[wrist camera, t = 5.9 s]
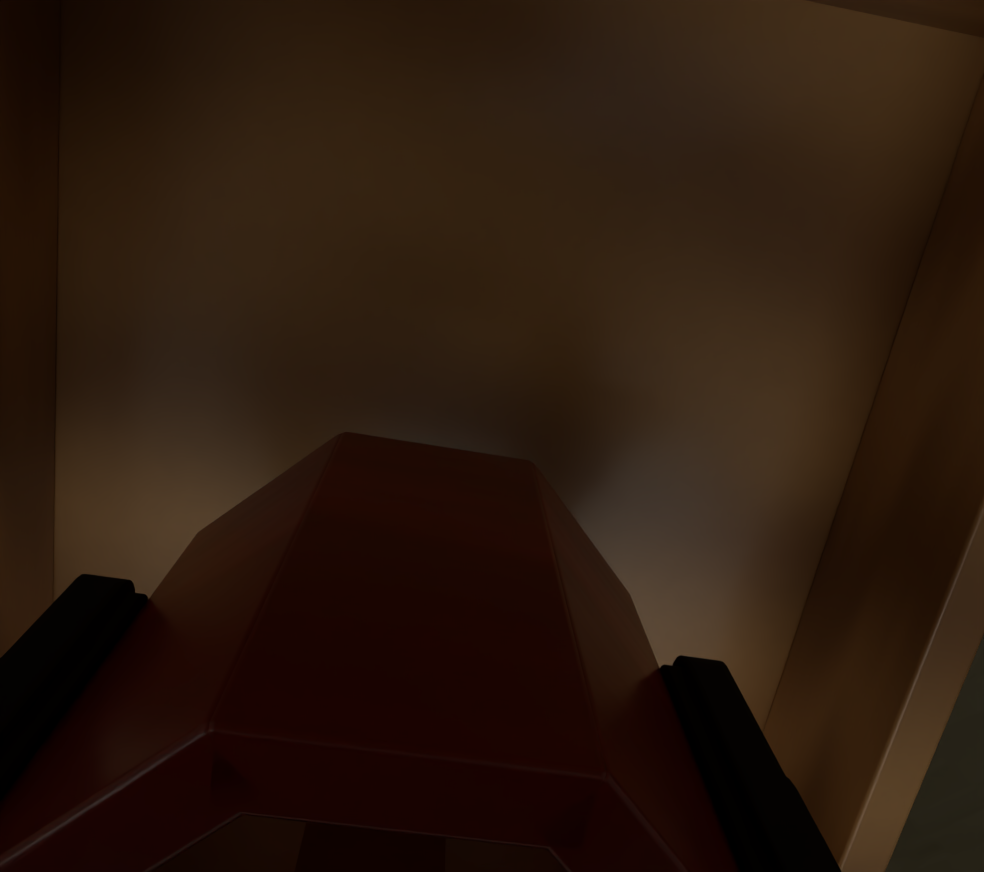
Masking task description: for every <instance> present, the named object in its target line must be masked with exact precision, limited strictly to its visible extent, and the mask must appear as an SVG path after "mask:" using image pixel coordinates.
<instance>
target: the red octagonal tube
mask: <svg viewBox="0 0 984 872" xmlns="http://www.w3.org/2000/svg"><path fill="white" fill-rule="evenodd" d="M0 872H741V871H740V869H739V866H738V864H737V861H736V859H735V856H734V854H733V851H732V849H731V846H730V844H729V841H728V839H727V836H726V834H725V831H724V829H723V826H722V824H721V821H720V819H719V816H718V814H717V811H716V808H715V806H714V803H713V801H712V798H711V796H710V793H709V791H708V788H707V786H706V783H705V781H704V778H703V776H702V773H701V771H700V768H699V766H698V763H697V761H696V758H695V756H694V753H693V751H692V748H691V746H690V743H689V741H688V738H687V736H686V733H685V731H684V728H683V726H682V723H681V721H680V718H679V716H678V713H677V711H676V708H675V706H674V703H673V701H672V698H671V696H670V693H669V691H668V688H667V686H666V683H665V681H664V678H663V676H662V673H661V671H660V668H659V665H658V663H657V660H656V658H655V655H654V653H653V650H652V648H651V645H650V643H649V640H648V638H647V635H646V633H645V630H644V628H643V625H642V623H641V620H640V618H639V615H638V613H637V610H636V608H635V605H634V603H633V600H632V598H631V595H630V593H629V592H628V591H627V589H626V588H625V587H624V585H623V584H622V583H621V581H620V580H619V578H618V577H617V576H616V574H615V573H614V572H613V570H612V569H611V567H610V566H609V565H608V563H607V562H606V561H605V559H604V558H603V556H602V555H601V554H600V552H599V551H598V550H597V548H596V547H595V545H594V544H593V543H592V541H591V540H590V539H589V537H588V536H587V535H586V533H585V532H584V530H583V529H582V528H581V526H580V525H579V524H578V522H577V521H576V519H575V518H574V517H573V515H572V514H571V513H570V511H569V510H568V508H567V507H566V506H565V504H564V503H563V502H562V500H561V499H560V497H559V496H558V495H557V493H556V492H555V491H554V489H553V488H552V487H551V485H550V484H549V482H548V481H547V480H546V478H545V477H544V476H543V474H542V473H541V471H540V470H539V469H538V467H537V466H536V465H535V464H534V463H533V462H531V461H529V460H525V459H518V458H512V457H505V456H499V455H493V454H486V453H480V452H473V451H467V450H461V449H454V448H448V447H441V446H435V445H429V444H422V443H416V442H410V441H403V440H397V439H390V438H384V437H378V436H371V435H365V434H358V433H352V432H343V433H341V434H338V435H336V436H335V437H333V438H332V439H331V440H329V441H328V442H326V443H325V444H323V445H322V446H321V447H319V448H318V449H316V450H315V451H313V452H312V453H310V454H309V455H308V456H306V457H305V458H303V459H302V460H300V461H299V462H298V463H296V464H295V465H293V466H292V467H290V468H289V469H288V470H286V471H285V472H283V473H282V474H280V475H279V476H278V477H276V478H275V479H273V480H272V481H270V482H269V483H268V484H266V485H265V486H263V487H262V488H260V489H259V490H258V491H256V492H255V493H253V494H252V495H250V496H249V497H248V498H246V499H245V500H243V501H242V502H240V503H239V504H237V505H236V506H235V507H233V508H232V509H230V510H229V511H227V512H226V513H225V514H223V515H222V516H220V517H219V518H217V519H216V520H215V521H213V522H212V523H210V524H209V525H207V526H206V527H205V528H203V529H202V530H200V531H199V532H198V533H197V534H196V535H195V537H194V538H193V539H192V541H191V542H190V543H189V545H188V546H187V547H186V549H185V550H184V552H183V553H182V554H181V556H180V557H179V558H178V560H177V561H176V562H175V564H174V565H173V567H172V568H171V569H170V571H169V572H168V573H167V575H166V576H165V577H164V579H163V580H162V582H161V583H160V584H159V586H158V587H157V588H156V590H155V591H154V592H153V594H152V595H151V597H150V598H149V599H148V601H147V602H146V603H145V605H144V606H143V607H142V609H141V610H140V611H139V613H138V614H137V616H136V617H135V618H134V620H133V621H132V622H131V624H130V625H129V626H128V628H127V629H126V631H125V632H124V633H123V635H122V636H121V637H120V639H119V640H118V641H117V643H116V644H115V646H114V647H113V648H112V650H111V651H110V652H109V654H108V655H107V656H106V658H105V659H104V660H103V662H102V663H101V665H100V666H99V667H98V669H97V670H96V671H95V673H94V674H93V675H92V677H91V678H90V680H89V681H88V682H87V684H86V685H85V686H84V688H83V689H82V690H81V692H80V693H79V695H78V696H77V697H76V699H75V700H74V701H73V703H72V704H71V705H70V707H69V708H68V709H67V711H66V712H65V714H64V715H63V716H62V718H61V719H60V720H59V722H58V723H57V724H56V726H55V727H54V729H53V730H52V731H51V733H50V734H49V735H48V737H47V738H46V739H45V741H44V742H43V744H42V745H41V746H40V748H39V749H38V750H37V752H36V753H35V754H34V756H33V757H32V759H31V760H30V761H29V763H28V764H27V765H26V767H25V768H24V769H23V771H22V772H21V773H20V775H19V776H18V778H17V779H16V780H15V782H14V783H13V784H12V786H11V787H10V788H9V790H8V791H7V793H6V794H5V795H4V797H3V798H2V799H1V801H0Z"/></svg>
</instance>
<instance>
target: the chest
mask: <svg viewBox="0 0 984 872" xmlns="http://www.w3.org/2000/svg"><path fill="white" fill-rule="evenodd" d="M343 432H352V433H358V434H365V435H371V436H378V437H384V438H390V439H397V440H403V441H410V442H416V443H422V444H429V445H435V446H441V447H448V448H454V449H461V450H467V451H473V452H480V453H486V454H493V455H499V456H505V457H512V458H518V459H525V460H529V461H531V462H533V463H534V464H535V465H536V466H537V467H538V469H539V470H540V471H541V473H542V474H543V476H544V477H545V478H546V480H547V481H548V482H549V484H550V485H551V487H552V488H553V489H554V491H555V492H556V493H557V495H558V496H559V497H560V499H561V500H562V502H563V503H564V504H565V506H566V507H567V508H568V510H569V511H570V513H571V514H572V515H573V517H574V518H575V519H576V521H577V522H578V524H579V525H580V526H581V528H582V529H583V530H584V532H585V533H586V535H587V536H588V537H589V539H590V540H591V541H592V543H593V544H594V545H595V547H596V548H597V550H598V551H599V552H600V554H601V555H602V556H603V558H604V559H605V561H606V562H607V563H608V565H609V566H610V567H611V569H612V570H613V572H614V573H615V574H616V576H617V577H618V578H619V580H620V581H621V583H622V584H623V585H624V587H625V588H626V589H627V591H628V592H629V593H630V595H631V598H632V600H633V603H634V605H635V608H636V610H637V613H638V615H639V618H640V620H641V623H642V625H643V628H644V630H645V633H646V635H647V638H648V640H649V643H650V645H651V648H652V650H653V653H654V655H655V658H656V660H657V663H658V665H659V668H660V667H661V666H662V665H664V664H665V665H673V662H674V661H675V659H676V658H677V657H678V656H680V655H683V656H690V657H697V658H705V659H712V660H719V661H722V662H724V663H725V664H726V666H727V667H728V669H729V671H730V673H731V674H732V676H733V678H734V680H735V682H736V684H737V686H738V688H739V689H740V691H741V693H742V695H743V697H744V699H745V701H746V702H747V704H748V706H749V708H750V710H751V712H752V714H753V716H754V717H755V719H756V721H757V723H758V725H759V727H760V729H761V731H762V732H763V734H764V736H765V738H766V740H767V742H768V744H769V745H770V747H771V749H772V751H773V753H774V755H775V757H776V759H777V760H778V762H779V764H780V766H781V768H782V770H783V772H784V774H785V775H786V777H788V778H789V779H790V780H791V781H792V783H793V784H794V785H795V787H796V788H797V790H798V792H799V794H800V796H801V797H802V799H803V801H804V803H805V805H806V807H807V809H808V810H809V812H810V814H811V816H812V818H813V820H814V821H815V823H816V825H817V827H818V829H819V831H820V833H821V834H822V836H823V838H824V840H825V842H826V844H827V845H828V847H829V849H830V851H831V853H832V855H833V856H834V858H835V860H836V862H837V864H838V866H839V868H840V869H841V871H842V872H885V870H886V868H887V865H888V863H889V860H890V858H891V856H892V853H893V851H894V848H895V846H896V844H897V841H898V839H899V836H900V834H901V832H902V829H903V827H904V824H905V822H906V820H907V817H908V815H909V812H910V810H911V808H912V805H913V803H914V800H915V798H916V796H917V793H918V791H919V789H920V786H921V784H922V781H923V779H924V777H925V774H926V772H927V769H928V767H929V765H930V762H931V760H932V757H933V755H934V753H935V750H936V748H937V745H938V743H939V741H940V738H941V736H942V733H943V731H944V729H945V726H946V724H947V721H948V719H949V717H950V714H951V712H952V709H953V707H954V705H955V702H956V700H957V697H958V695H959V693H960V690H961V688H962V685H963V683H964V681H965V678H966V676H967V673H968V671H969V669H970V666H971V664H972V661H973V659H974V657H975V654H976V652H977V649H978V647H979V645H980V642H981V640H982V637H983V635H984V0H0V658H1V657H2V656H3V655H4V654H5V653H6V652H7V651H8V650H9V649H10V648H11V647H12V646H13V644H14V643H15V642H16V641H17V640H18V639H19V638H20V637H21V636H22V635H23V634H24V633H25V632H26V631H27V630H28V629H29V628H30V627H31V626H32V624H33V623H34V622H35V621H36V620H37V619H38V618H39V617H40V616H41V615H42V614H43V613H44V612H45V611H46V610H47V609H48V608H49V607H50V606H51V604H52V603H53V602H54V601H55V600H56V599H57V598H58V597H59V596H60V595H61V594H62V593H63V592H64V591H65V590H66V589H67V588H68V587H69V585H70V584H71V583H72V582H73V581H74V580H75V579H76V578H77V577H79V576H80V575H81V574H91V575H98V576H105V577H113V578H120V579H127V580H131V581H132V582H133V583H134V587H135V593H141V594H146V595H147V597H148V599H149V598H150V597H151V595H152V594H153V592H154V591H155V590H156V588H157V587H158V586H159V584H160V583H161V582H162V580H163V579H164V577H165V576H166V575H167V573H168V572H169V571H170V569H171V568H172V567H173V565H174V564H175V562H176V561H177V560H178V558H179V557H180V556H181V554H182V553H183V552H184V550H185V549H186V547H187V546H188V545H189V543H190V542H191V541H192V539H193V538H194V537H195V535H196V534H197V533H198V532H199V531H200V530H202V529H203V528H205V527H206V526H207V525H209V524H210V523H212V522H213V521H215V520H216V519H217V518H219V517H220V516H222V515H223V514H225V513H226V512H227V511H229V510H230V509H232V508H233V507H235V506H236V505H237V504H239V503H240V502H242V501H243V500H245V499H246V498H248V497H249V496H250V495H252V494H253V493H255V492H256V491H258V490H259V489H260V488H262V487H263V486H265V485H266V484H268V483H269V482H270V481H272V480H273V479H275V478H276V477H278V476H279V475H280V474H282V473H283V472H285V471H286V470H288V469H289V468H290V467H292V466H293V465H295V464H296V463H298V462H299V461H300V460H302V459H303V458H305V457H306V456H308V455H309V454H310V453H312V452H313V451H315V450H316V449H318V448H319V447H321V446H322V445H323V444H325V443H326V442H328V441H329V440H331V439H332V438H333V437H335V436H336V435H338V434H341V433H343Z"/></svg>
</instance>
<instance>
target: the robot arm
mask: <svg viewBox="0 0 984 872" xmlns="http://www.w3.org/2000/svg"><path fill="white" fill-rule="evenodd" d="M147 601H148V597H147V595H146V594H141V593H135V587H134V583H133V582H132V581H131V580H127V579H120V578H113V577H105V576H98V575H91V574H81V575H80V576H79V577H77V578H76V579H75V580H74V581H73V582H72V583H71V584H70V585H69V587H68V588H67V589H66V590H65V591H64V592H63V593H62V594H61V595H60V596H59V597H58V598H57V599H56V600H55V601H54V602H53V603H52V604H51V606H50V607H49V608H48V609H47V610H46V611H45V612H44V613H43V614H42V615H41V616H40V617H39V618H38V619H37V620H36V621H35V622H34V623H33V624H32V626H31V627H30V628H29V629H28V630H27V631H26V632H25V633H24V634H23V635H22V636H21V637H20V638H19V639H18V640H17V641H16V642H15V643H14V644H13V646H12V647H11V648H10V649H9V650H8V651H7V652H6V653H5V654H4V655H3V656H2V657H1V658H0V801H1V799H2V798H3V797H4V795H5V794H6V793H7V791H8V790H9V788H10V787H11V786H12V784H13V783H14V782H15V780H16V779H17V778H18V776H19V775H20V773H21V772H22V771H23V769H24V768H25V767H26V765H27V764H28V763H29V761H30V760H31V759H32V757H33V756H34V754H35V753H36V752H37V750H38V749H39V748H40V746H41V745H42V744H43V742H44V741H45V739H46V738H47V737H48V735H49V734H50V733H51V731H52V730H53V729H54V727H55V726H56V724H57V723H58V722H59V720H60V719H61V718H62V716H63V715H64V714H65V712H66V711H67V709H68V708H69V707H70V705H71V704H72V703H73V701H74V700H75V699H76V697H77V696H78V695H79V693H80V692H81V690H82V689H83V688H84V686H85V685H86V684H87V682H88V681H89V680H90V678H91V677H92V675H93V674H94V673H95V671H96V670H97V669H98V667H99V666H100V665H101V663H102V662H103V660H104V659H105V658H106V656H107V655H108V654H109V652H110V651H111V650H112V648H113V647H114V646H115V644H116V643H117V641H118V640H119V639H120V637H121V636H122V635H123V633H124V632H125V631H126V629H127V628H128V626H129V625H130V624H131V622H132V621H133V620H134V618H135V617H136V616H137V614H138V613H139V611H140V610H141V609H142V607H143V606H144V605H145V603H146V602H147ZM660 671H661V673H662V676H663V678H664V681H665V683H666V686H667V688H668V691H669V693H670V696H671V698H672V701H673V703H674V706H675V708H676V711H677V713H678V716H679V718H680V721H681V723H682V726H683V728H684V731H685V733H686V736H687V738H688V741H689V743H690V746H691V748H692V751H693V753H694V756H695V758H696V761H697V763H698V766H699V768H700V771H701V773H702V776H703V778H704V781H705V783H706V786H707V788H708V791H709V793H710V796H711V798H712V801H713V803H714V806H715V808H716V811H717V814H718V816H719V819H720V821H721V824H722V826H723V829H724V831H725V834H726V836H727V839H728V841H729V844H730V846H731V849H732V851H733V854H734V856H735V859H736V861H737V864H738V866H739V869H740V871H741V872H842V871H841V869H840V868H839V866H838V864H837V862H836V860H835V858H834V856H833V855H832V853H831V851H830V849H829V847H828V845H827V844H826V842H825V840H824V838H823V836H822V834H821V833H820V831H819V829H818V827H817V825H816V823H815V821H814V820H813V818H812V816H811V814H810V812H809V810H808V809H807V807H806V805H805V803H804V801H803V799H802V797H801V796H800V794H799V792H798V790H797V788H796V787H795V785H794V784H793V783H792V781H791V780H790V779H789V778H788V777H786V775H785V774H784V772H783V770H782V768H781V766H780V764H779V762H778V760H777V759H776V757H775V755H774V753H773V751H772V749H771V747H770V745H769V744H768V742H767V740H766V738H765V736H764V734H763V732H762V731H761V729H760V727H759V725H758V723H757V721H756V719H755V717H754V716H753V714H752V712H751V710H750V708H749V706H748V704H747V702H746V701H745V699H744V697H743V695H742V693H741V691H740V689H739V688H738V686H737V684H736V682H735V680H734V678H733V676H732V674H731V673H730V671H729V669H728V667H727V666H726V664H725V663H724V662H722V661H719V660H712V659H705V658H697V657H690V656H683V655H680V656H678V657H677V658H676V659H675V661H674V662H673V665H665V664H664V665H662V666H661V667H660Z"/></svg>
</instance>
